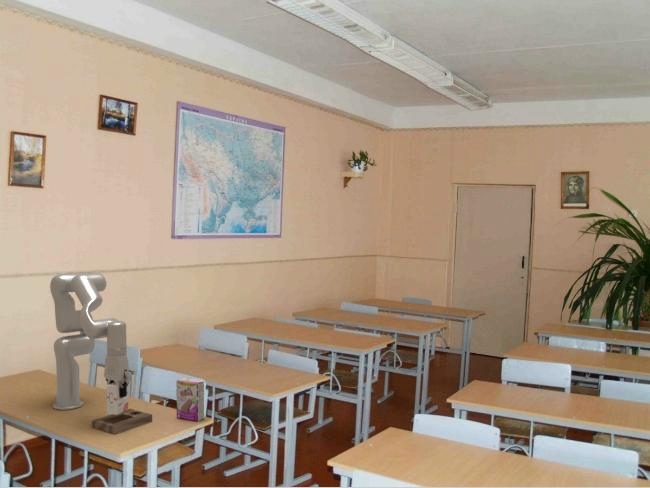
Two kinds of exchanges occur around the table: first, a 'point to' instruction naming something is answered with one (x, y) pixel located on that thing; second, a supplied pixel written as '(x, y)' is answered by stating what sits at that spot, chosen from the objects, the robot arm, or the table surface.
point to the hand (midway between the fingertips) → (117, 395)
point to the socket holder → (122, 421)
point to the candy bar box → (190, 399)
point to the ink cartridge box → (116, 399)
